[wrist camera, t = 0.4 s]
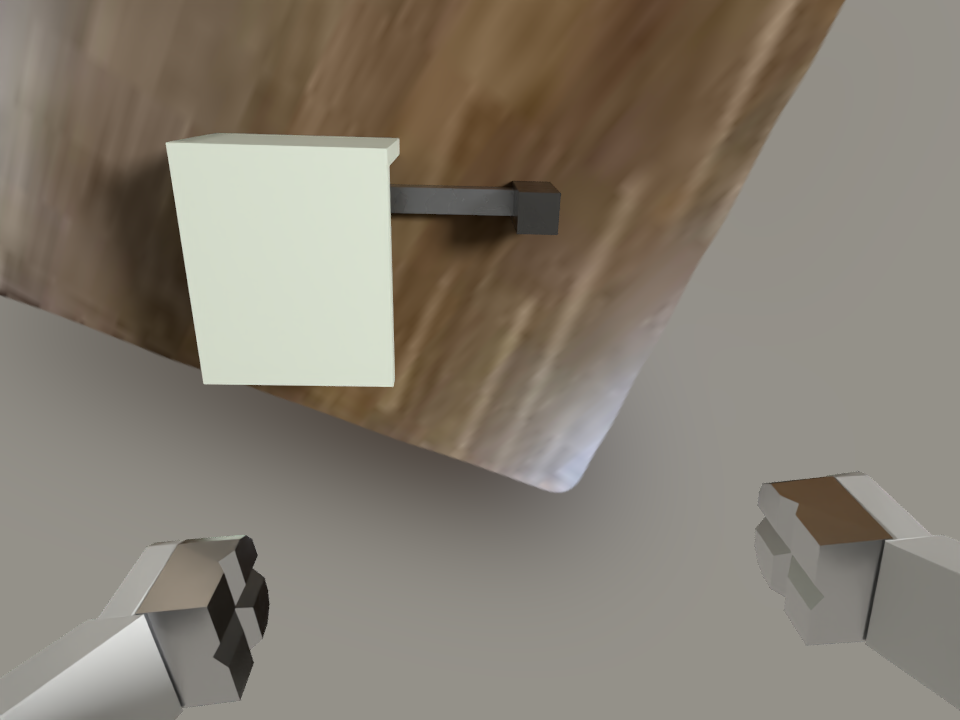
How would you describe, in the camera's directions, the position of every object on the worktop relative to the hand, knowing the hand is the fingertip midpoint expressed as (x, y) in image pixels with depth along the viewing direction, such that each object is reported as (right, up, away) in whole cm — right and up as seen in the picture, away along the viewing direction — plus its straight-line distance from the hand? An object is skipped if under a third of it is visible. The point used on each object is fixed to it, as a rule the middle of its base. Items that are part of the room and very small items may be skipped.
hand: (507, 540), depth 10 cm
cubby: (-14, +12, +42) cm, 46 cm away
